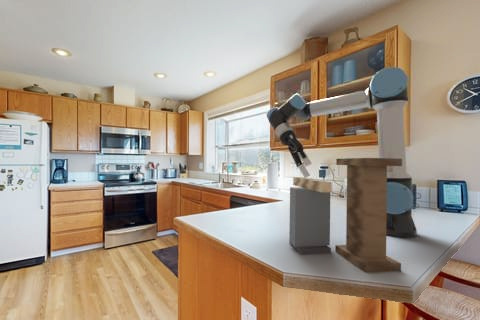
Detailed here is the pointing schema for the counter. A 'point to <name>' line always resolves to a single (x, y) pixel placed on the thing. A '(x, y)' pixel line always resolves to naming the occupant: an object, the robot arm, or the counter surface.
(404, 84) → the robot arm
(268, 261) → the counter surface
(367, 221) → the stand
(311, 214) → the grey rectangular block
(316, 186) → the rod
